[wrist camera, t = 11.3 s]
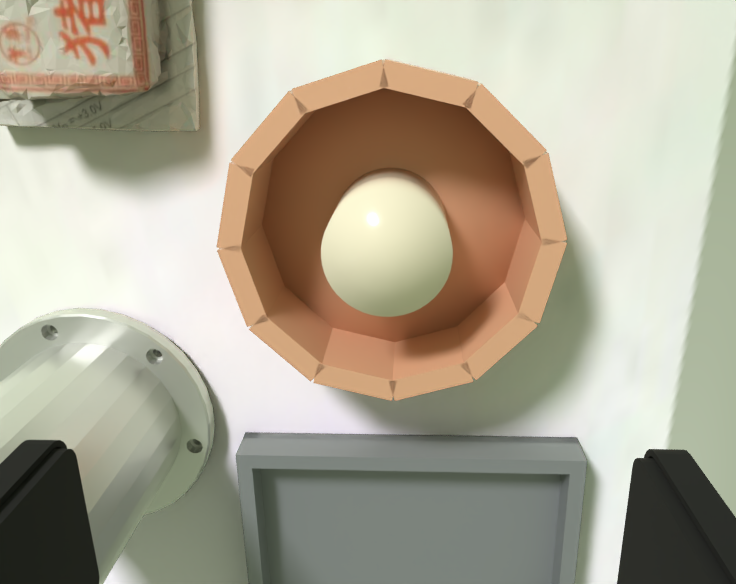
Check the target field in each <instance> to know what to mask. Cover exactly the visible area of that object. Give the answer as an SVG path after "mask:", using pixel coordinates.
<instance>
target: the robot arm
mask: <svg viewBox="0 0 736 584" xmlns="http://www.w3.org/2000/svg"><path fill="white" fill-rule="evenodd" d="M157 350H158V351H160V352H161V353H159V352H158V351H157ZM214 430H215V423H214V413H213V406H212V403H211V400H210V397H209V394H208V390H207V387H206V386H205V384H204V382H203V380H202V378H201V376H200V375H199V373H198V371H197V369H196V368H195V367H194V365H193V364H192V363H191V362H190V360H189V359H188V358H187V357H186V355H185V354H184V353H183V352H182V351H181V350H180V349H179V348H178V347H177V346H176V345H175V344H173V343H172V342H171V341H170V340H169V339H168V338H167V337H166V336H164V335H163V334H161V333H159V332H158V331H156V330H155V329H153V328H151V327H150V326H148V325H147V324H145V323H143V322H140V321H138V320H135V319H133V318H131V317H128V316H126V315H123V314H119V313H115V312H111V311H106V310H102V309H87V308H75V309H67V310H60V311H55V312H52V313H49V314H46V315H44V316H41V317H38V318H36V319H34V320H33V321H31V322H29V323H28V324H26V325H24V326H23V327H21V328H20V329H18V330H17V331H16V332H14V333H13V334H12V335H11V336H9V337H8V338H7V339H6V340H4V342H3V343H2V344H1V345H0V584H103V583H104V582H105V580H106V578H107V576H108V575H109V573H110V571H111V570H112V568H113V566H114V565H115V563H116V561H117V560H118V558H119V556H120V554H121V553H122V551H123V549H124V548H125V546H126V544H127V543H128V541H129V539H130V537H131V536H132V534H133V532H134V531H135V529H136V527H137V526H138V524H139V522H140V520H141V519H142V517H143V515H147V514H150V513H154V512H157V511H159V510H161V509H163V508H165V507H167V506H169V505H171V504H173V503H174V502H175V501H176V500H178V499H179V498H180V497H182V496H183V495H184V494H185V493H187V492H188V490H189V489H190V488H191V487H192V485H193V484H194V483H195V482H196V480H197V479H198V478H199V476H200V474H201V472H202V470H203V468H204V466H205V465H206V463H207V460H208V457H209V455H210V452H211V449H212V446H213V439H214ZM617 584H736V518H735V516H734V515H733V513H732V512H731V511H730V509H729V508H728V506H727V505H726V504H725V502H724V501H723V500H722V498H721V497H720V495H719V494H718V493H717V491H716V490H715V488H714V487H713V485H712V484H711V483H710V481H709V480H708V478H707V477H706V476H705V474H704V473H703V472H702V470H701V469H700V467H699V466H698V465H697V463H696V462H695V460H694V459H693V458H692V456H691V455H690V454H689V453H688V452H687V451H686V450H664V449H649V450H648V451H647V452H646V454H645V456H644V458H637V459H635V461H634V463H633V468H632V475H631V483H630V491H629V498H628V506H627V513H626V521H625V528H624V536H623V543H622V551H621V558H620V566H619V573H618V581H617Z"/></svg>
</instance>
